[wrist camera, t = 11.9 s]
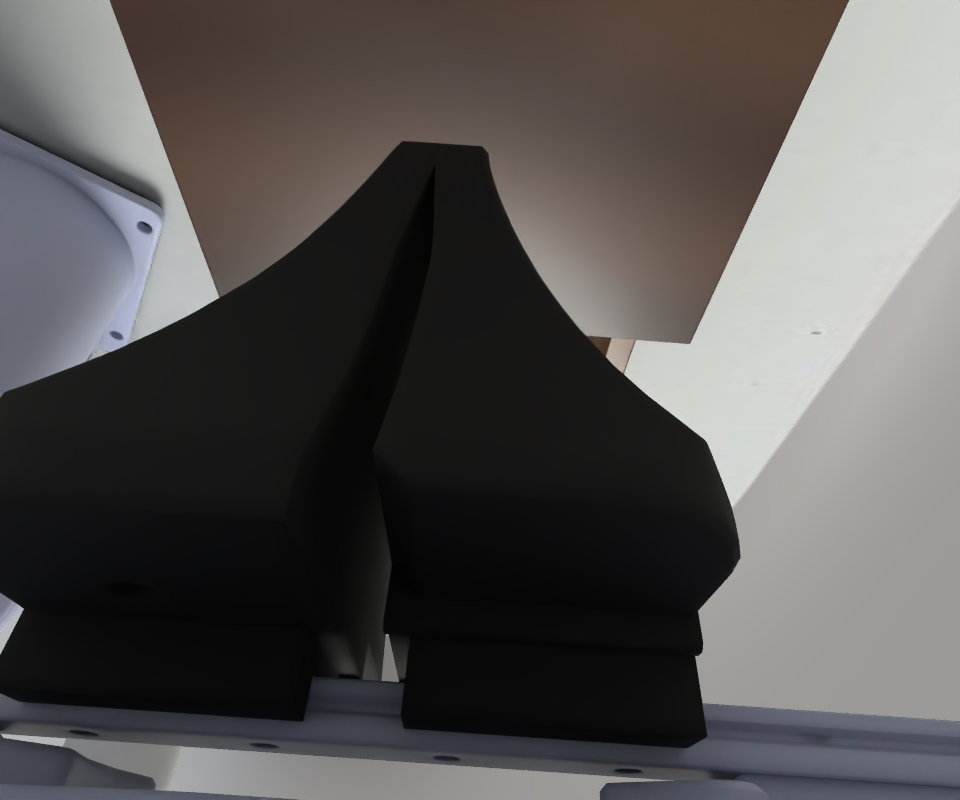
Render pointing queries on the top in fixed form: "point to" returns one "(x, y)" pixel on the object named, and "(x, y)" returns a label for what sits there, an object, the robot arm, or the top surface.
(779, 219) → the top surface
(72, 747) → the travel mug
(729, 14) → the organiser
